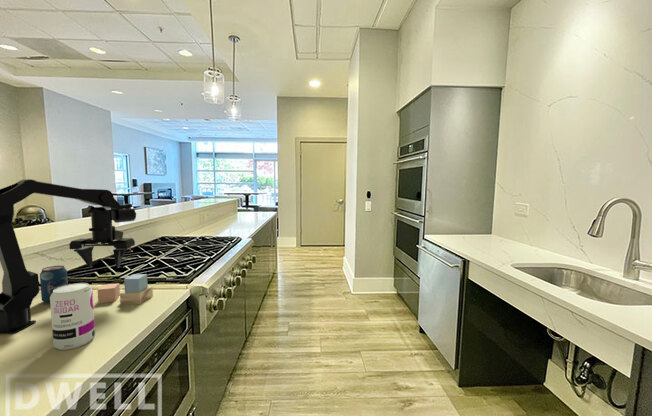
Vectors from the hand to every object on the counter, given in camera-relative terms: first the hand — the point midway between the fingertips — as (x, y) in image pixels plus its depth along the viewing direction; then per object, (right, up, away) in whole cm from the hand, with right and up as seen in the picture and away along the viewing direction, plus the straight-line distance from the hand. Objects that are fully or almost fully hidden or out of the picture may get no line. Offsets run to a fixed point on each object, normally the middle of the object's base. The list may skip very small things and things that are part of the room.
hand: (104, 266), depth 101 cm
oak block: (+11, -12, +1) cm, 17 cm away
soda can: (-17, -12, -1) cm, 21 cm away
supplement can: (+14, -15, -27) cm, 33 cm away
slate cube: (+12, -8, 0) cm, 14 cm away
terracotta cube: (+1, -12, +1) cm, 12 cm away
